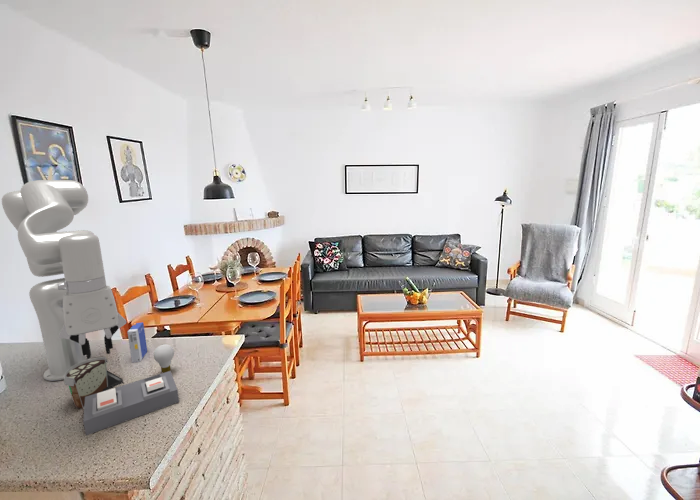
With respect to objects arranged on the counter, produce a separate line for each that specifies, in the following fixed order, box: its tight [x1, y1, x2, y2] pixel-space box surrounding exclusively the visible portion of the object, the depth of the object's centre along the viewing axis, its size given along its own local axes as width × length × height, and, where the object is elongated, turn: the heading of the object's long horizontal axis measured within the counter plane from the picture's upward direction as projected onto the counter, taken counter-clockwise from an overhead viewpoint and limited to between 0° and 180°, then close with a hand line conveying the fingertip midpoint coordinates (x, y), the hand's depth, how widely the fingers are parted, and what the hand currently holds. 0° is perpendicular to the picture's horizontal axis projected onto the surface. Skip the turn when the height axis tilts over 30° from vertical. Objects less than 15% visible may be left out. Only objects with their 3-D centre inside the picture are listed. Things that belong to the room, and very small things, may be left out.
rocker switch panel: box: [82, 370, 180, 436], centre depth 92 cm, size 12×21×5 cm, turn 127°
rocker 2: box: [146, 377, 164, 392], centre depth 93 cm, size 6×4×1 cm
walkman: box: [127, 322, 148, 363], centre depth 118 cm, size 8×3×12 cm, turn 15°
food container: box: [63, 356, 109, 410], centre depth 95 cm, size 12×6×10 cm, turn 178°
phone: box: [103, 370, 124, 391], centre depth 104 cm, size 8×1×15 cm
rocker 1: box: [97, 387, 117, 411], centre depth 87 cm, size 6×4×1 cm
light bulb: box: [153, 343, 175, 374], centre depth 108 cm, size 6×6×10 cm
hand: (98, 353), depth 83 cm, fingers open, 3 cm apart
